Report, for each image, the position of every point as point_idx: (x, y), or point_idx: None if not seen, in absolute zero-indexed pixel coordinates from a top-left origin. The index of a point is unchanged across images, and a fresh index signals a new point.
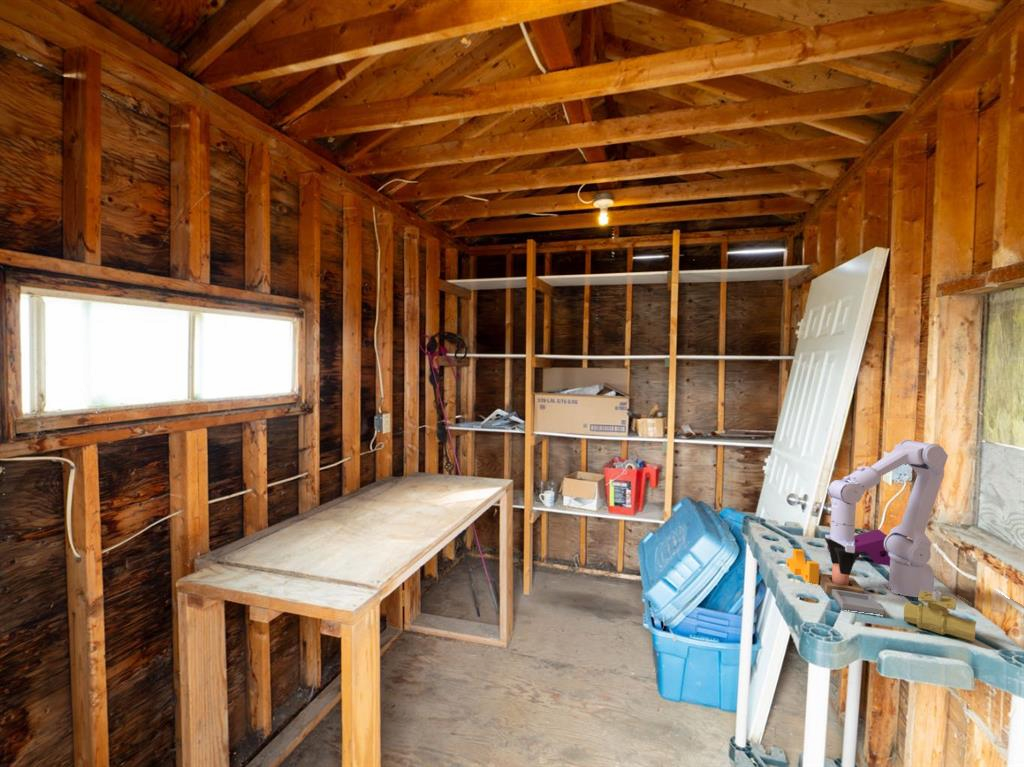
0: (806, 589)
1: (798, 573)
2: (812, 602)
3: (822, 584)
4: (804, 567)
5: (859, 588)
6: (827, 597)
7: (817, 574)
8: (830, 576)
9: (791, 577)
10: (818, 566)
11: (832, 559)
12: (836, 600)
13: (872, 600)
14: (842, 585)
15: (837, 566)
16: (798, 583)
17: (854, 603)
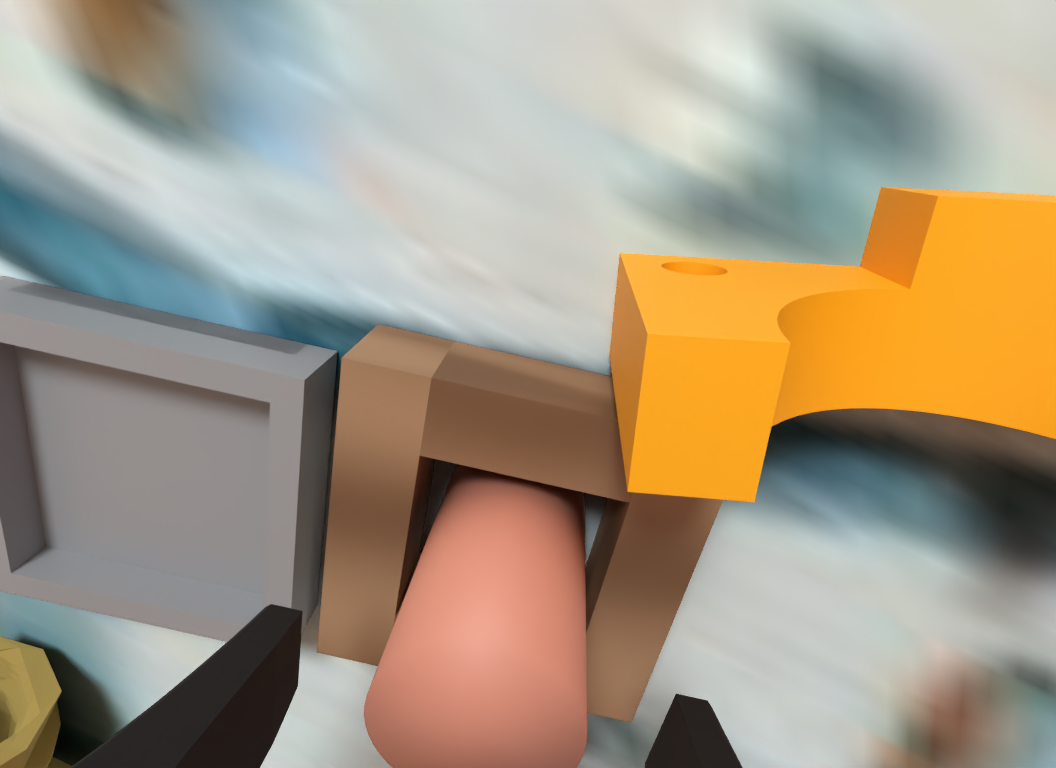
0: (437, 134)
1: (883, 241)
2: (58, 21)
3: (528, 372)
4: (962, 368)
5: (364, 640)
6: (282, 285)
7: (617, 390)
8: (638, 535)
9: (812, 103)
10: (628, 459)
11: (691, 758)
12: (174, 323)
13: (159, 607)
14: (390, 526)
15: (443, 681)
16: (612, 112)
17: (143, 451)
